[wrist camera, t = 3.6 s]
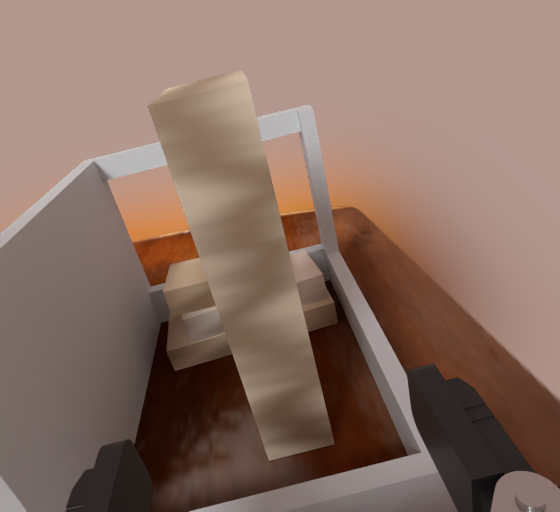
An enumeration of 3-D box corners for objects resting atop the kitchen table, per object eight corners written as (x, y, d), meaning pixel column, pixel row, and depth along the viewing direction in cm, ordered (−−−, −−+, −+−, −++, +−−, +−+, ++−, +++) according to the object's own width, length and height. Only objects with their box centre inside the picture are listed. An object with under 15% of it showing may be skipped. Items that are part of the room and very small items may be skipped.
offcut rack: (75, 612, 19) (-136, 351, 13) (151, 319, 39) (83, 160, 32) (459, 514, 19) (439, 206, 13) (339, 271, 39) (307, 104, 32)
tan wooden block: (268, 460, 23) (147, 105, 15) (260, 381, 29) (167, 88, 21) (334, 444, 23) (247, 80, 15) (313, 368, 29) (241, 69, 21)
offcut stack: (175, 373, 32) (145, 303, 29) (177, 332, 36) (152, 268, 34) (338, 325, 32) (324, 252, 30) (320, 290, 37) (306, 224, 34)
